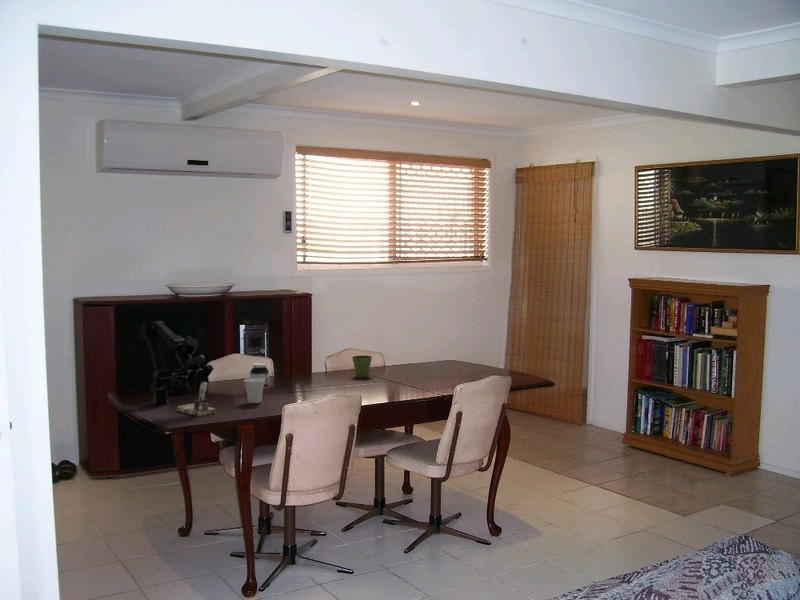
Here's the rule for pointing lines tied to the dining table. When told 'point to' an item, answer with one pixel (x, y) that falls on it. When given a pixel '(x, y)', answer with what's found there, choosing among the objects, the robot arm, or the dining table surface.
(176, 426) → the dining table surface
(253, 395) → the cup
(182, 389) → the yellow black cube
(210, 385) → the dining table surface
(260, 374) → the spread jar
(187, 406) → the nutcracker board
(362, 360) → the plant pot
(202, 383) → the lever
